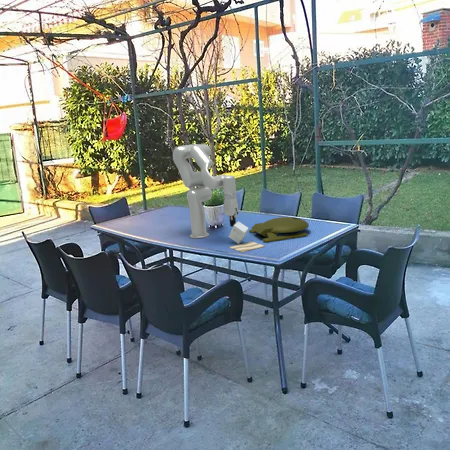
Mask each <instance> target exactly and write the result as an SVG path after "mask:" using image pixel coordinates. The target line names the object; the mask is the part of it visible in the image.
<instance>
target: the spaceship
mask: <svg viewBox="0 0 450 450" xmlns="http://www.w3.org/2000/svg"><path fill="white" fill-rule="evenodd" d="M309 226H310V225H309V223H308V221H306V220H304V219H302V218H299V217H294V216H293V217H292V216H287V217H286V216H283V217H281V216H280V217H275V218H274V217H273V218H271V219H268V220H266V221H264V222H259V223H255V224H254V225H253V226H251V228H250V229H248V233H250V234H257V233H258V234H259V235H261V236H263V237H264V238H263V239H262V242H263V243H272V242H273V241H274V242H278V241H286V240H292V239H299V238H304V237H307V236H308V233H307V232H303V231H304V230H306V229H308V228H309ZM299 231H300V232H299ZM301 231H302V232H301ZM295 232H296V233H295ZM282 233H283V234H284V233H291V234H284V235H278V234H282Z"/></svg>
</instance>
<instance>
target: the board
mask: <svg viewBox="0 0 450 450" xmlns="http://www.w3.org/2000/svg"><path fill="white" fill-rule="evenodd" d="M228 248H229V249H232V250H235V251H236V252H239V253H245V252H250V251H255V250H257V249H261V248H266V246H265V245H264V244H261V243H257V242H255V241H248V242H244V243H239V244H235V245H231V246H229V247H228Z"/></svg>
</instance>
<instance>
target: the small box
mask: <svg viewBox="0 0 450 450" xmlns="http://www.w3.org/2000/svg"><path fill="white" fill-rule="evenodd" d="M249 230H250V229H249V227H248V226H246V225H245V224H243V223H242V222H241V221H239V220H237V222H236V224H235V225H234V226H233V227H232V229H231V231H230V232H229V234H228V238H229V239H231V240H232V241H234V242H235V243H236V244H237V245H239V244H241V242H242V241H243V240H244V238H245V237H246V235H247V232H249Z"/></svg>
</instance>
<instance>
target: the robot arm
mask: <svg viewBox="0 0 450 450" xmlns="http://www.w3.org/2000/svg"><path fill="white" fill-rule="evenodd" d="M211 155H212V150H211V147H210V146H209V145H207V144H205V143H203V144H201V143H195V144H186V145H185V144H183V145H179V146H177V147H175V148H174V149H173V152H172V159H173V162H174V164H175V166H176V168H177V169H178V172H179V174H180V177H181V180H182V183H183V185H184V186H185V187H186V188H187V189H188V188H189V189H190V190H188V191H187V193H186V200H187V204H188V208H189V218H190V226H191V227H190V231H191V233H190V234H189V238H191V239H204V238H207V237H209V235H210V234H209V232H207V223H206V215H205V214H206V213H205V207H204V206H203V204H202V203H204V202H208V201H210V200H211V199H212V195H213V191H212V190H216V189H223V198H224V199H223V214H224V215H226V216H227V217H228V220H229V226H230V228H231V227H232V228H233V226H234V225H235V224H236V223H237V222H236V219H237V218H238V217H239V204H238V196H237V186H236V177H235V175H227V174H220V175H215V176H213V175H212V174H211V173H210V171H209V169H211V167H212V165H213V164H214V163H213V160H212V158H211V157H210V156H211ZM186 159H193V161H194V162H195V163H196V165H197V166H198V167H199V168H200V170H201V171H194V169H193V168H192V166H191V164H190V162H188V161H187V160H186ZM195 187H196V188H195Z"/></svg>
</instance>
